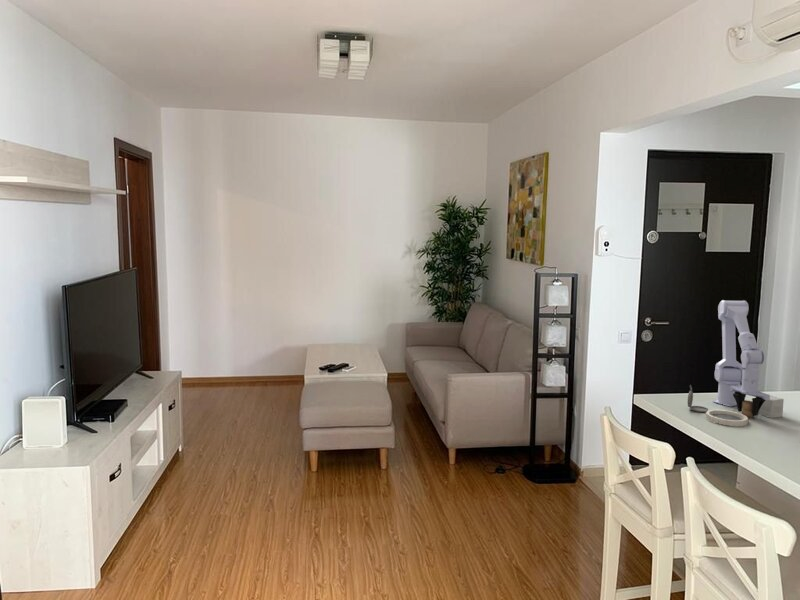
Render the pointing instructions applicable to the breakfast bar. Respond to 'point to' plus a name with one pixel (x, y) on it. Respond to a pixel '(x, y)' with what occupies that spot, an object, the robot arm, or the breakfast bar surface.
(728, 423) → the round tray
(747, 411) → the walnut cylinder
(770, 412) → the skincare box
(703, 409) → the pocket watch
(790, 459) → the breakfast bar surface
